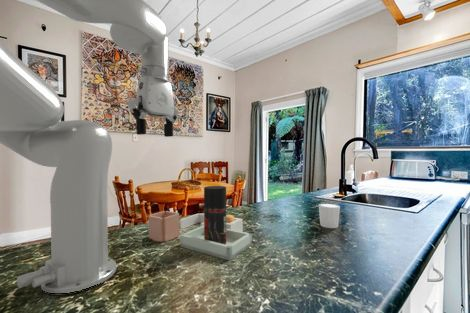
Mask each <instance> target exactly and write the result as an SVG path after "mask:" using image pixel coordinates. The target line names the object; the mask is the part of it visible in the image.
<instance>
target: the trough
mask: <svg viewBox="0 0 470 313" xmlns="http://www.w3.org/2000/svg"><path fill="white" fill-rule="evenodd" d="M252 245H253V234H252V233H249V232H245V231H243V232H241V231H236V230H231V229H226V244H221V243H217V242H213V241H208V240H204V225H203V226H201V227H200V226H199V227H197V228H195V229H194V228H193V229H192V230H189V231H187V232H184V233H182V234H179V247H181V248H183V249H184V248H185V249H188V250H192V251H195V252H198V253H201V254H206V255H210V256H212V257H215V258H219V259H222V260H227V261H232V260H233V259H235V258H236V257H237V256H239V255H240V254H241V253H243V252H244V251H246V250H247V249H248V248H249V247H251V246H252Z"/></svg>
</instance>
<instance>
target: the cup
mask: <svg viewBox="0 0 470 313" xmlns="http://www.w3.org/2000/svg"><path fill="white" fill-rule="evenodd" d="M177 237H180V213H179V212H176V211H175V212H174V211H170V210H166V211H165V210H163V211H159V212H155V213H150V214H149V215H148V239H151V241H153V242H158V243H159V242H160V243H161V242H162V243H163V242H164V243H165V242H169V241H172V240H174V239H176V238H177Z"/></svg>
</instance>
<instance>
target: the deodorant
mask: <svg viewBox="0 0 470 313" xmlns="http://www.w3.org/2000/svg"><path fill="white" fill-rule="evenodd" d="M203 214H204V240H208V241H213V242H217V243H221V244H226V215H227V187H226V186H224V185H209V186H204V187H203Z"/></svg>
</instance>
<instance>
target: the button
mask: <svg viewBox="0 0 470 313" xmlns="http://www.w3.org/2000/svg"><path fill="white" fill-rule="evenodd" d="M234 218H235V216H234V215H232V214H226V222H227V223H231V222H233V221H234Z"/></svg>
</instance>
